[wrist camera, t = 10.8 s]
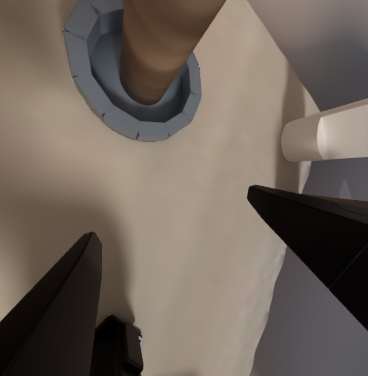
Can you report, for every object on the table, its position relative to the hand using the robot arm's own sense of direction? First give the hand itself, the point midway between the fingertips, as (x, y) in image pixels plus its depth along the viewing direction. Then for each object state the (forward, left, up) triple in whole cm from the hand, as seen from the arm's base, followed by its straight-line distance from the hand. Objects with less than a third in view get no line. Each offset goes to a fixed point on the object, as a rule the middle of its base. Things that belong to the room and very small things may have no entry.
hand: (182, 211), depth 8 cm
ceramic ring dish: (+7, +10, -11) cm, 17 cm away
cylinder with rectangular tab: (+32, -12, -12) cm, 37 cm away
